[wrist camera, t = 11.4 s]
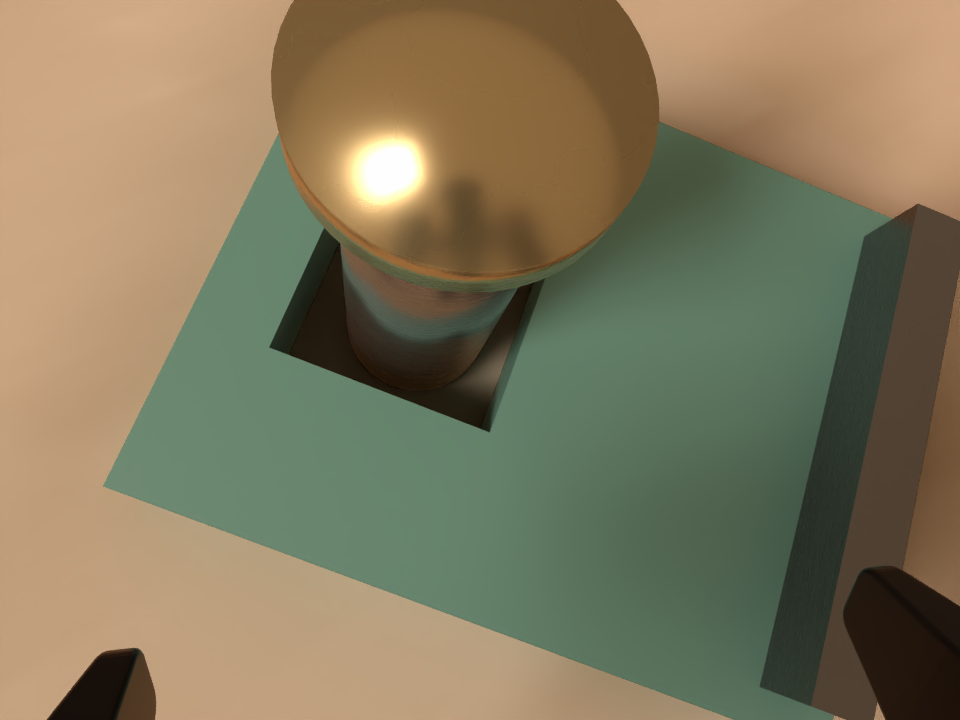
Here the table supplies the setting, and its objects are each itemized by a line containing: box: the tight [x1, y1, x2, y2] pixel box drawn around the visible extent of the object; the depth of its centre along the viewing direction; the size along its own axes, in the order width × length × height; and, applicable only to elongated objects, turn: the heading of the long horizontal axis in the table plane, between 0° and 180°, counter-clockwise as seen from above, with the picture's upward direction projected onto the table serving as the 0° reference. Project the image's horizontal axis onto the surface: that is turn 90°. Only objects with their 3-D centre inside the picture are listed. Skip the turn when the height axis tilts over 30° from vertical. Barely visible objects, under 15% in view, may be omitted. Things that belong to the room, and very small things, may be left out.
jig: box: [103, 122, 960, 720], centre depth 22 cm, size 20×16×5 cm
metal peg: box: [271, 0, 659, 391], centre depth 18 cm, size 6×6×13 cm
